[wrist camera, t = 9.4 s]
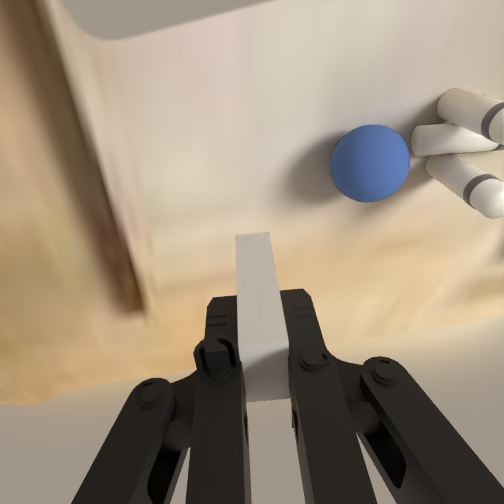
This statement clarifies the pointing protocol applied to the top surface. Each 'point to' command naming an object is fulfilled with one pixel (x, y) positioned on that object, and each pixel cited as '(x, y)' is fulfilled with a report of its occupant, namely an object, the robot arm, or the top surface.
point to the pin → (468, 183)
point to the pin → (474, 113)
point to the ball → (370, 163)
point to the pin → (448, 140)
